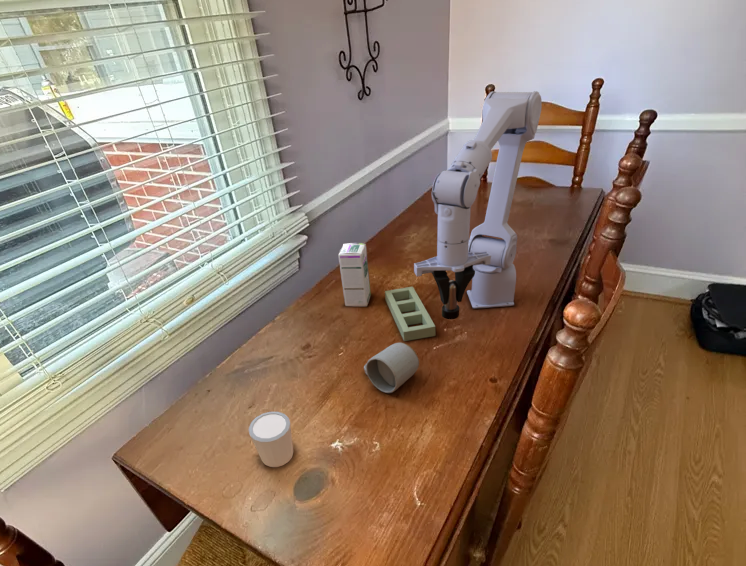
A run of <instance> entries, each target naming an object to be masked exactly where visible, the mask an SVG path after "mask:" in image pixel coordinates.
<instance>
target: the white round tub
mask: <svg viewBox="0 0 746 566" xmlns="http://www.w3.org/2000/svg"><path fill="white" fill-rule="evenodd" d="M291 425H292V424H291V421H290V418H289V416H287V415H286V413H284V412H281V411H268V412H264V413H261V414H259V415H258V416H256V417H255V418H254V419H253V420H252V421H251V422H250V424H249V426H248V433H249V436H250V439H251V441H252V443H253V445H254V447H255V450H256V452H257V453H258V456H259V458H260V460H261V462H262V463H263V465H265V466H267V467H270V468H279V467H283V466H284V465H286V464H287V463H289V462H290V461H291V460H292V458H293V455H294V446H293V435H292V426H291Z"/></svg>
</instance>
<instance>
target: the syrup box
mask: <svg viewBox="0 0 746 566" xmlns="http://www.w3.org/2000/svg"><path fill="white" fill-rule="evenodd" d="M337 256H338V262H339V263H338V264H339V271H340V277H341V285H342V292H343V299H344V305H345V307H368V304H369V302H370V299H371V296H372V292H371V283H370V282H371V281H370V272H369V262H368V252H367V244H366V242H350V243H349V242H348V243H343V244H342V246H341V249H339V252H338V254H337Z"/></svg>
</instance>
